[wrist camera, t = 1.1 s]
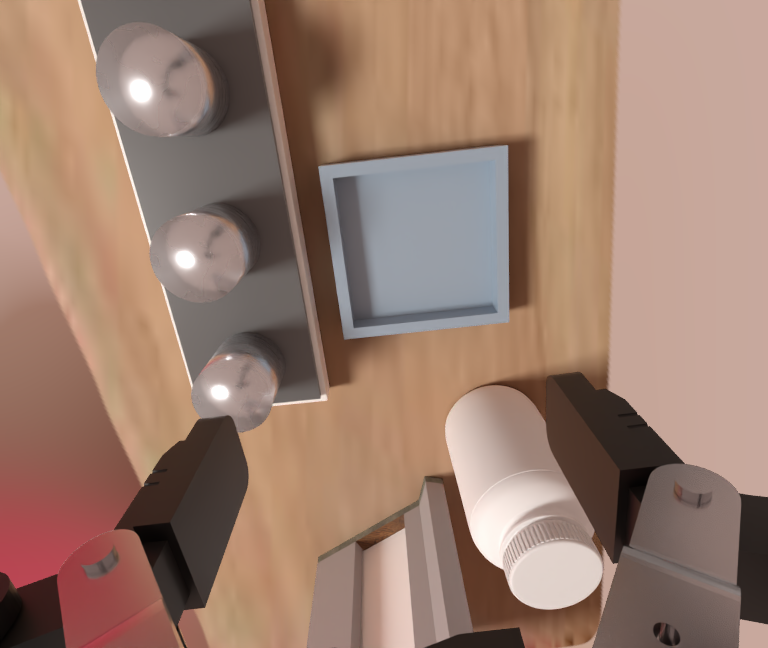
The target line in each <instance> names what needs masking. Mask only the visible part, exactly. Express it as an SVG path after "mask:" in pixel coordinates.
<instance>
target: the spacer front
mask: <svg viewBox="0 0 768 648" xmlns="http://www.w3.org/2000/svg"><path fill="white" fill-rule="evenodd" d="M96 77H97V83H98V87H99V90H100V93H101V95H102V97H103V99H104V101H105V103H106V105H107V106H108V108H109V109H110V111H111V112H112V113H113V114H114V116H115V117H116V118H117V119H118V120H119V121H121V122H122V123H123V124H124V125H126V126H127V127H129V128H130V129H132V130H134V131H136V132H138V133H141V134H144V135H148V136H156V137H198V136H203V135H206V134H208V133H210V132H212V131H213V130H215V129H216V128H217V127H218V126H219V125H220V124H221V122H222V121H223V120H224V118H225V116H226V113H227V111H228V107H229V99H230V98H229V87H228V83H227V79H226V77H225V74H224V72H223V70H222V68H221V67H220V65H219V64H218V63H217V61H216V60H215V59H214V58H213V57H212V56H211V55H210V54H209V53H207V52H206V51H205V50H203V49H201V48H200V47H198V46H196V45H194V44H192V43H190V42H188V41H186V40H184V39H183V38H181V37H179V36H177V35H175V34H173V33H171V32H169V31H167V30H165V29H163V28H162V27H159V26H157V25H154V24H150V23H144V22H133V23H128V24H125V25H122V26H120V27H118V28H116V29H115V30H113V31H112V32H111V33H110V34H109V35H108V36H107V37H106V38H105V40H104V41H103V43H102V45H101V47H100V49H99V52H98V56H97V61H96Z"/></svg>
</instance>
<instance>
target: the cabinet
mask: <svg viewBox="0 0 768 648" xmlns="http://www.w3.org/2000/svg"><path fill="white" fill-rule="evenodd" d="M464 633H473V627H472V622H471V617H470V612H469V608H468V603H467V598H466V593H465V588H464V583H463V578H462V573H461V568H460V563H459V558H458V553H457V549H456V544H455V539H454V534H453V529H452V524H451V519H450V514H449V509H448V504H447V499H446V494H445V490H444V485H443V480H442V479H440V478H433V477H425V478H424V482H423V485H422V489H421V493H420V497H419V500H418V501H416V502H414V503H412V504H411V505H409V506H407V507H405V508H404V509H402V510H400V511H398V512H397V513H395V514H393V515H391V516H390V517H388V518H386V519H384V520H383V521H381V522H379V523H377V524H376V525H374V526H372V527H370V528H369V529H367V530H365V531H363V532H362V533H360V534H358V535H356V536H355V537H353V538H351V539H349V540H348V541H346V542H344V543H342V544H341V545H339V546H337V547H335V548H334V549H332V550H330V551H328V552H327V553H325V554H323V555H321V556H320V557H318V564H317V572H316V580H315V587H314V595H313V603H312V611H311V618H310V626H309V634H308V641H307V648H424V647H427V646H430V645H432V644H435V643H437V642H440V641H442V640H445V639H447V638H450V637H452V636H455V635H458V634H464Z"/></svg>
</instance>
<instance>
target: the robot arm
mask: <svg viewBox="0 0 768 648" xmlns="http://www.w3.org/2000/svg"><path fill="white" fill-rule="evenodd" d="M546 432H547V439H548V443H549V446H550V449H551V452H552V454H553V456H554V458H555V459H556V461H557V463H558V465H559V467H560V468H561V470H562V472H563V474H564V476H565V478H566V479H567V481H568V483H569V485H570V487H571V488H572V490H573V492H574V494H575V496H576V497H577V499H578V501H579V503H580V505H581V507H582V508H583V510H584V512H585V514H586V516H587V517H588V519H589V521H590V523H591V525H592V526H593V528H594V530H595V532H596V534H597V536H598V537H599V539H600V541H601V543H602V545H603V546H604V548H605V550H606V552H607V554H608V556H609V557H610V559H611V561H612V563H613V564H614V563H618V565H617V568H616V572H615V575H614V579H613V581H612V585H611V588H610V591H609V595H608V598H607V601H606V605H605V608H604V611H603V614H602V618H601V621H600V624H599V628H598V631H597V634H596V638H595V641H594V644H593V647H592V648H738V646H739V625H740V619H743V620H748V621H753V622H759V623H764V624H768V497H761V496H752V495H745V494H740V493H738V491H737V490H736V488H735V487H734V486H733V485H732V484H731V483H730V482H728V481H727V480H725V479H724V478H723V477H721V476H720V475H718V474H716V473H714V472H712V471H710V470H707V469H704V468H701V467H698V466H693V465H688V464H685V463H684V462H683V461H682V460H681V459H680V458H679V457H678V456H677V455H676V454H675V453H674V452H673V451H672V450H671V448H670V447H669V446H668V445H667V444H666V443H665V442H664V441H663V440H662V439H661V438H660V437H659V436H658V434H657V433H656V432H655V431H654V430H653V429H652V428H651V427H650V426H649V427H648V425H647V423H646V422H645V421H644V419H643V418H642V417H641V416H640V415H637V412H636V411H635V410H634V409H633V408H632V407H631V406H630V405H629V403H628V402H627V401H626V400H625V399H623V398H621V397H619V396H618V395H616V394H614V393H612V392H610V391H608V390H606V389H601V390H595V388H594V387H593V386H592V385H591V384H590V383H589V381H588V380H587V379H586V378H585V377H584V376H583V374H582V373H580V372H575V373H567V374H559V375H551V376H548V377H547V381H546ZM247 486H248V466H247V462H246V459H245V456H244V452H243V449H242V446H241V442H240V439H239V436H238V433H237V429H236V426H235V423H234V420H233V419H232V417H231V416H229V415H227V416H219V417H211V418H203V419H199V420H198V421H197V422H196V423H195V425H194V427H193V428H192V430H191V432H190V433H189V435H188V437H187V438H186V440H184V441H179V442H178V443H176V444H175V445H174V446H173V447H172V448H171V449H169V450H168V451H167V452H166V453H165V454H164V455H162V457H161V458H160V460H159V461H158V463H157V465H156V466H155V468H154V469H153V473H152V474H150V475H149V477H148V478H147V480H146V481H145V483H144V487H142V488H141V489H140V491H139V492H138V494H137V495H136V497H135V498H134V500H133V501H132V503H131V504H130V506H129V508H128V509H127V511H126V512H125V514H124V515H123V517H122V518H121V520H120V521H119V523H118V524H117V526H116V527H115V529H114V530H113V531H109V532H106V533H103V534H101V535H99V536H97V537H94V538H93V539H91V540H89V541H88V542H86V543H85V544H83V545H82V546H80V547H79V548H78V549H77V550H75V551H74V552H73V553H72V554H71V555H70V556H69V557H68V559H67V560H66V561H65V562H64V564H63V565H62V566H61V568H60V570H59V573H58V574H56V575H53V576H51V577H48V578H45V579H43V580H39V581H37V582H34V583H31V584H28V585H26V586H23V587H20V588H17V589H16V588H15V587H14V585H13V584H12V582H11V580H10V579H9V577H8V576H7V575H6V574H4V573H1V572H0V648H187V645H186V642H185V640H184V637H183V635H182V632H181V630H180V628H179V626H178V623H179V620H180V618H181V615H182V613H183V610H188V609H197V608H205V606H206V603H207V600H208V597H209V594H210V592H211V589H212V586H213V583H214V580H215V578H216V575H217V572H218V569H219V566H220V564H221V561H222V558H223V555H224V552H225V549H226V547H227V544H228V541H229V538H230V535H231V533H232V530H233V527H234V524H235V521H236V518H237V516H238V513H239V510H240V507H241V504H242V502H243V499H244V496H245V493H246V490H247ZM424 648H525V646H524V643H523V639H522V636H521V633H520V629H519V628H510V629H501V630H492V631H483V632H473V633H464V634H458V635H455V636H452V637H450V638H447V639H445V640H442V641H440V642H437V643H435V644H432V645H430V646H427V647H424Z"/></svg>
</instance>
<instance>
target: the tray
mask: <svg viewBox="0 0 768 648" xmlns="http://www.w3.org/2000/svg"><path fill="white" fill-rule="evenodd" d="M318 168H319V175H320V182H321V188H322V195H323V202H324V208H325V215H326V222H327V229H328V235H329V242H330V249H331V255H332V262H333V269H334V275H335V282H336V289H337V295H338V302H339V309H340V315H341V322H342V329H343V336H344V340H345V339H354V338H364V337H373V336H383V335H392V334H402V333H411V332H421V331H430V330H440V329H449V328H459V327H468V326H477V325H487V324H496V323H506V322H509V218H508V145H492V146H483V147H474V148H465V149H456V150H448V151H439V152H430V153H421V154H412V155H403V156H394V157H385V158H376V159H368V160H359V161H350V162H341V163H332V164H323V165H320V166H318Z"/></svg>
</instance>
